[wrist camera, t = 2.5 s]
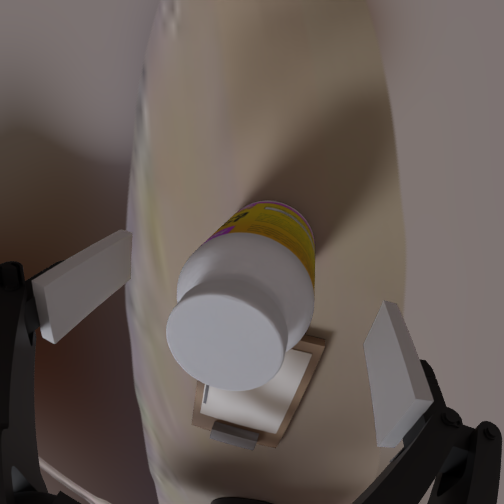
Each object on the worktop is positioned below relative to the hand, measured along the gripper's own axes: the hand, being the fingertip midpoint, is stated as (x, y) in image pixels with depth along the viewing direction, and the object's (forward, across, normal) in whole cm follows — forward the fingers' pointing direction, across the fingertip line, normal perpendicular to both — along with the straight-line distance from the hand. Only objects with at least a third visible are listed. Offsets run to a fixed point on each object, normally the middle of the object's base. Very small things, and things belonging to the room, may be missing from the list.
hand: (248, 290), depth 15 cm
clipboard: (+8, -2, +16) cm, 18 cm away
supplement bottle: (+9, 0, 0) cm, 9 cm away
